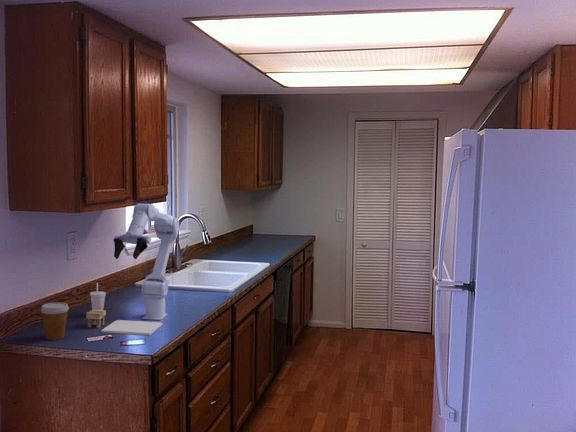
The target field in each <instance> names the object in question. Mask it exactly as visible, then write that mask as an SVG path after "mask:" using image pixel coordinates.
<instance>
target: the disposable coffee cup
mask: <svg viewBox="0 0 576 432" xmlns="http://www.w3.org/2000/svg"><path fill="white" fill-rule="evenodd" d="M69 310H70V307H69V305H68V303H66V302H49V303H44V304H43V305H41V308H40V311H41V313H42V320H43V328H44V335H45V339H46V340H50V341H53V340H54V341H56V340H62V339H63V338H65V333H66V324H67V318H68V311H69Z"/></svg>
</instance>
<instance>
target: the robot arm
mask: <svg viewBox="0 0 576 432" xmlns="http://www.w3.org/2000/svg"><path fill="white" fill-rule="evenodd" d="M149 221H150V222H153V228H154V232H155V235H156V238H158V239H159V240H160V243H159V247H158V251H157V254H156V258H155V263H154V264H153V265H154V266H153V268H152V269H153V270H152V272H151V273H150V274H147V275H146V276H145V278H144V281H143V282H142V284H141V293H142V295H143V296H144V298H145V315H144V316H143V317H142V320H154V321H155V320H156V321H161V320H163V319H164V318H165V317H166V316H168V312H167V313H166V298H165V297H166V296H167V294H168V292H169V283H170V282H169V279H168V278H167V277H166V276H165V273H166V269H167V265H168V261H169V256H170V253H171V249H172V246H173V242H174V240H176V239H178V238H177V237H178V235H179V231H180V220H179V218H178V217H175V216H174V215H171V214H167V213H163V212H160V210H159V209H158V208H156V207H155V205H153V203H151V204H150V203H137V204H134V205H133V213H132V219H131V222H130V224H129V227H128V229H127V231H126V233H123V234H121V235H115V236H114V237H113V242H114V243H113V244H114V253H113V257H114V258H115V260H118V259H119V257H120V256H121V253H122V251H123V250H124V249H125V248H126V246H125V244H124V243H127V244H132V245H135V248H134V251H133V252H132V257H133V259H134V260H137V258H138V257H139V256H140V255H141V254H142V253H143V252H144V251H145V250H147V249H148V247H149V246H148V244H151V241H152V238H151V237H150V236H148V235H147V236H146V235H144V232H145V229H146V227H147V224H148V222H149Z"/></svg>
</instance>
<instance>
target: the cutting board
mask: <svg viewBox="0 0 576 432" xmlns="http://www.w3.org/2000/svg"><path fill="white" fill-rule="evenodd" d="M161 326H163V322H158V321H157V322H156V321H155V322H154V321H142V320H140V321H139V320H127V319H126V320H125V319H124V320H123V319H116V320H115V321H113V322H112V323H110V324H108V325H107V326H105V327H104V328H103V329H101V333H108V334H122V335H123V334H125V335H126V334H127V335H140V336H151V335H152V334H153V333H154V332H156V331H157V330H158V329H159V328H160V327H161Z"/></svg>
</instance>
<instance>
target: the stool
mask: <svg viewBox="0 0 576 432" xmlns="http://www.w3.org/2000/svg"><path fill="white" fill-rule="evenodd" d="M106 312H107V310H104V309H103V310H92V309H91V310H89V311H87V312H86V319H87V328H92V327H93V325H96V328H97V329H100V328H101V326H104V325H105V317H106V314H107V313H106Z"/></svg>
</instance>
